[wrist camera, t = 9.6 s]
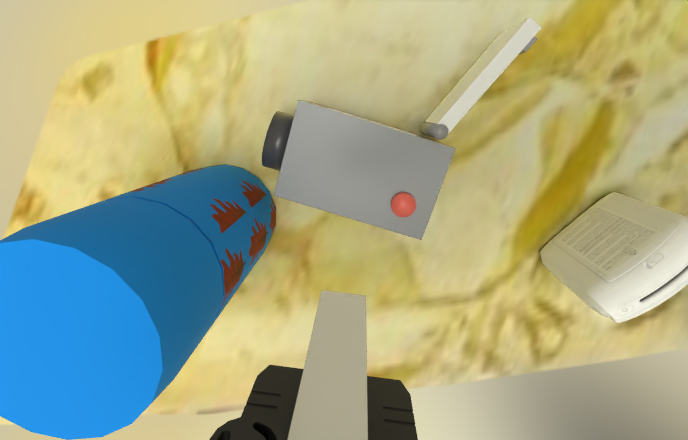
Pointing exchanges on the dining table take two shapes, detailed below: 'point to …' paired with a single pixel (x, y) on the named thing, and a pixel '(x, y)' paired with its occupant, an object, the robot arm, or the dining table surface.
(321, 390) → the robot arm
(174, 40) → the dining table surface
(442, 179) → the camera body
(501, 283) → the dining table surface
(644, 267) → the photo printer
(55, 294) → the thermos
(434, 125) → the side door
